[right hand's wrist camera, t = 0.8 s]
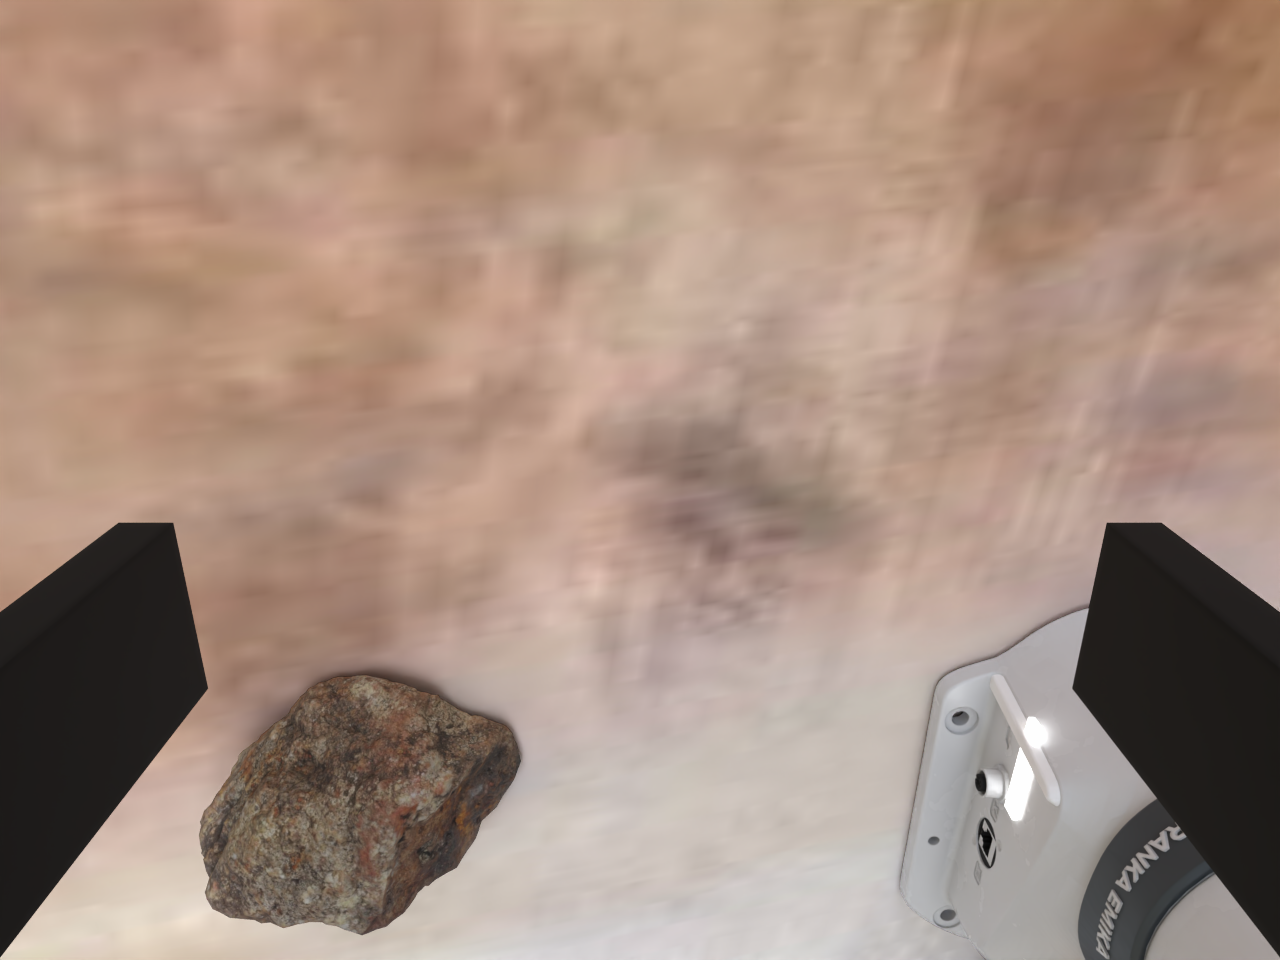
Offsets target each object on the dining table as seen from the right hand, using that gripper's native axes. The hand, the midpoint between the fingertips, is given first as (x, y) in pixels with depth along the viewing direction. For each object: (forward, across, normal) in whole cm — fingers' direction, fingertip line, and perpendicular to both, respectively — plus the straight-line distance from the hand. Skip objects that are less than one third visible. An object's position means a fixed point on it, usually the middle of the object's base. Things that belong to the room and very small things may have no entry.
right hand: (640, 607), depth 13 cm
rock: (+27, -14, -24) cm, 39 cm away
